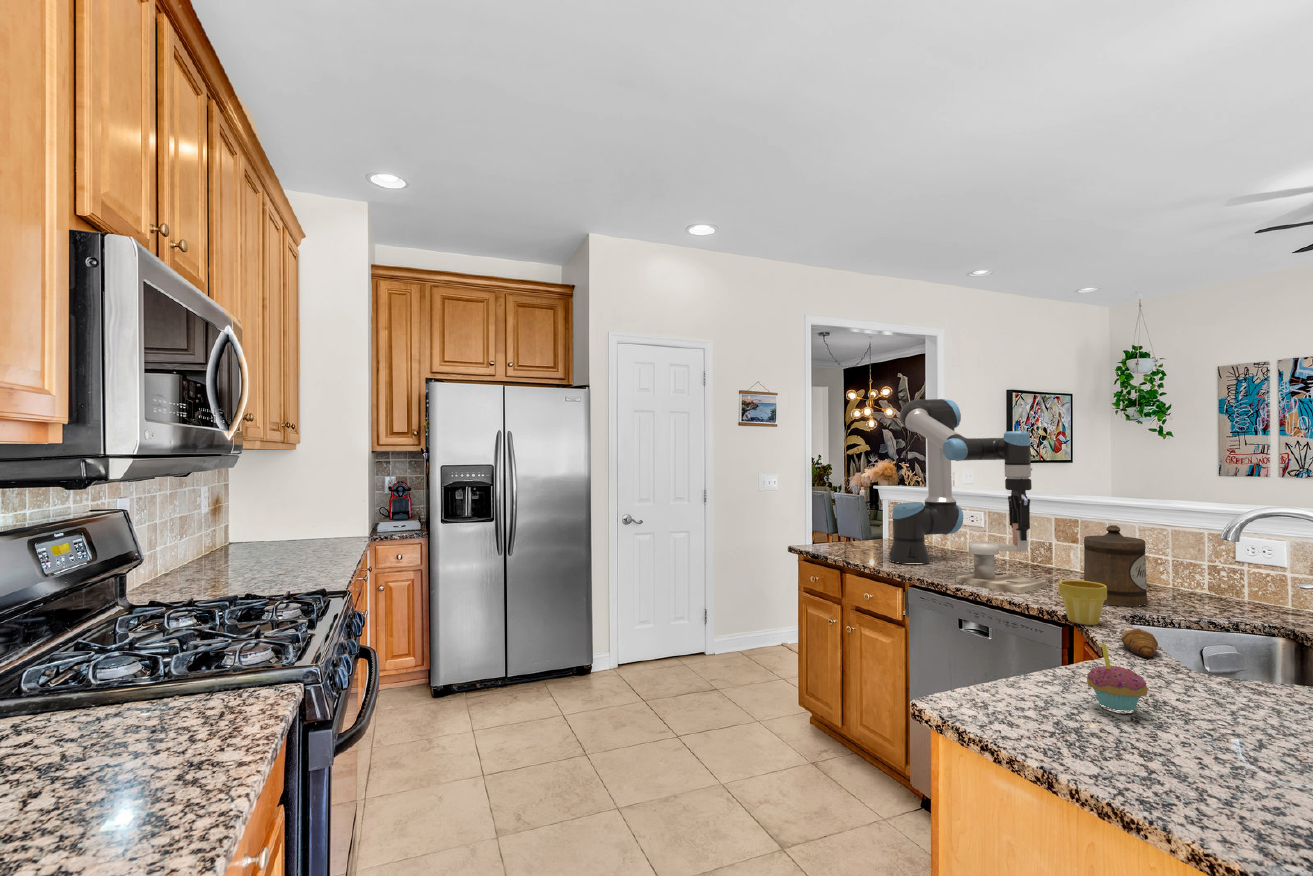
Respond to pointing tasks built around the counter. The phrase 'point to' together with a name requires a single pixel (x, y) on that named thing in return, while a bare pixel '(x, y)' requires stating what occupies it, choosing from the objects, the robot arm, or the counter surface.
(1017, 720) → the counter surface
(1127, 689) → the cupcake
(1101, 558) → the wooden container
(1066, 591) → the plant pot
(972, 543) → the crank handle
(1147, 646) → the croissant
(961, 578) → the post base
